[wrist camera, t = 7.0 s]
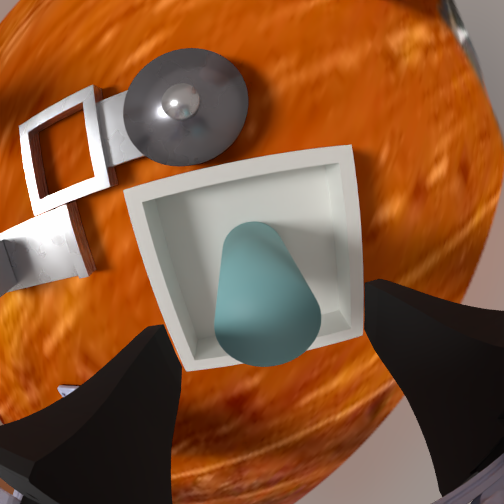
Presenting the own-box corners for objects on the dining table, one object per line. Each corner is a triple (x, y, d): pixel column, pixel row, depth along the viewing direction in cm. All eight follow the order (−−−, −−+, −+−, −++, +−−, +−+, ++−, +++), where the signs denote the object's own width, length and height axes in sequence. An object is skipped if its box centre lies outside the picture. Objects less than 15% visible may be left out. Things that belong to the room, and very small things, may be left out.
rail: (96, 268, 16) (88, 276, 15) (-13, 295, 16) (-20, 301, 15) (75, 200, 14) (65, 204, 13) (-29, 249, 14) (-37, 253, 13)
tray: (347, 312, 18) (362, 335, 15) (191, 344, 18) (186, 371, 15) (331, 146, 14) (351, 144, 12) (141, 184, 14) (123, 190, 12)
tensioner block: (256, 151, 14) (261, 150, 12) (45, 213, 14) (24, 221, 12) (235, 48, 12) (235, 31, 10) (29, 125, 12) (7, 124, 10)
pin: (291, 265, 16) (332, 344, 9) (237, 287, 16) (241, 378, 9) (270, 211, 15) (302, 259, 8) (212, 236, 15) (194, 302, 8)
